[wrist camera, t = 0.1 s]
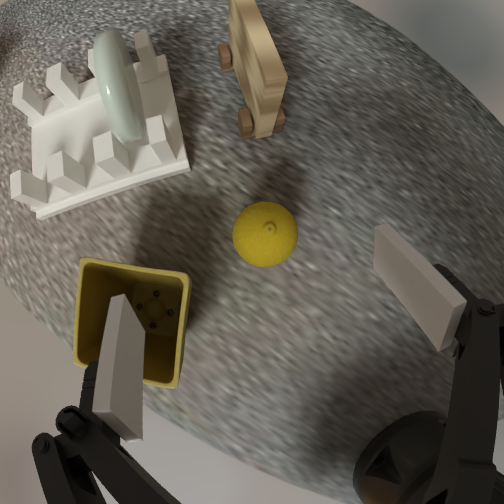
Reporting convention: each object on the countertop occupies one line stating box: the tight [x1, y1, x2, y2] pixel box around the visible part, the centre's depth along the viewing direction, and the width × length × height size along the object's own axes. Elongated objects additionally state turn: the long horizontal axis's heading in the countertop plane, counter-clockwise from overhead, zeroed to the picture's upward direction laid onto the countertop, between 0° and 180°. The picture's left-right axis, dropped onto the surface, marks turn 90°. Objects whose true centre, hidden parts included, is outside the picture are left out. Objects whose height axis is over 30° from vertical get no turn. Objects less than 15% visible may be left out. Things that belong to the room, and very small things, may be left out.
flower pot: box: [73, 257, 192, 388], centre depth 26 cm, size 9×9×9 cm
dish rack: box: [10, 30, 191, 220], centre depth 28 cm, size 15×18×7 cm
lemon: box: [232, 202, 298, 267], centre depth 28 cm, size 6×6×8 cm
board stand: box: [218, 43, 286, 139], centre depth 31 cm, size 11×4×3 cm, turn 15°
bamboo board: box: [229, 0, 288, 139], centre depth 26 cm, size 12×2×11 cm, turn 15°
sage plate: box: [93, 28, 145, 143], centre depth 24 cm, size 11×1×11 cm, turn 15°
